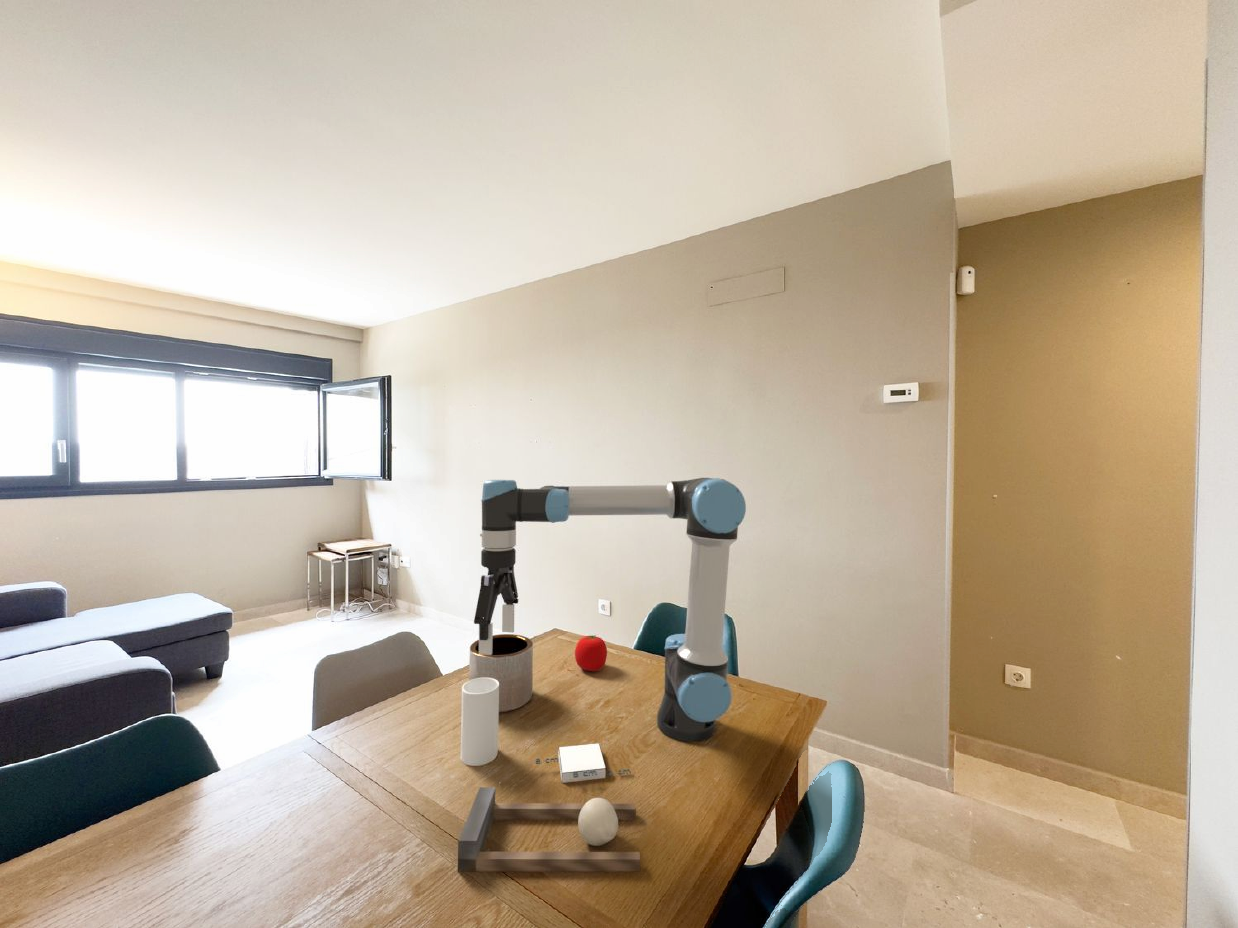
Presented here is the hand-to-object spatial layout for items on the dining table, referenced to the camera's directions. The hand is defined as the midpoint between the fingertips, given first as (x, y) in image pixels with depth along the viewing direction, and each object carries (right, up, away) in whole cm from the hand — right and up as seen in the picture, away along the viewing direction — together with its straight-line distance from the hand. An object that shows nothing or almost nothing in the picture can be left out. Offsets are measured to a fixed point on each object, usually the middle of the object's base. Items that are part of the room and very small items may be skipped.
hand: (497, 642), depth 107 cm
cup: (-5, -27, +2) cm, 28 cm away
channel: (+16, -27, -22) cm, 38 cm away
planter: (-6, -27, +28) cm, 40 cm away
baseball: (+24, -28, -22) cm, 43 cm away
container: (+19, -28, -2) cm, 34 cm away
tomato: (+18, -28, +50) cm, 60 cm away
